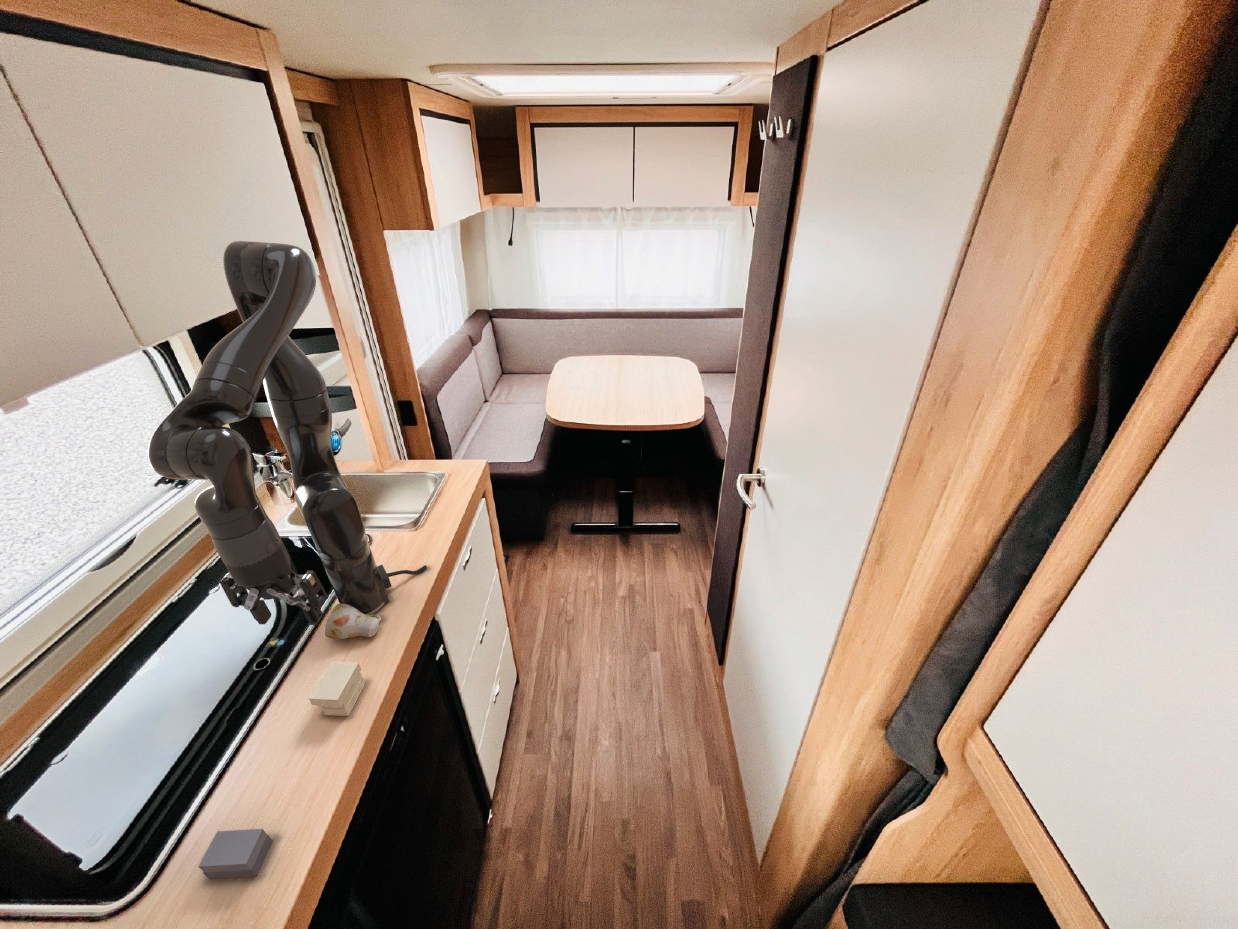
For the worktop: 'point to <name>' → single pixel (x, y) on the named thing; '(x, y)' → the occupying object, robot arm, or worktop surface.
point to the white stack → (347, 699)
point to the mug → (350, 623)
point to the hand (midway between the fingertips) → (291, 620)
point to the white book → (335, 684)
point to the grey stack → (235, 854)
